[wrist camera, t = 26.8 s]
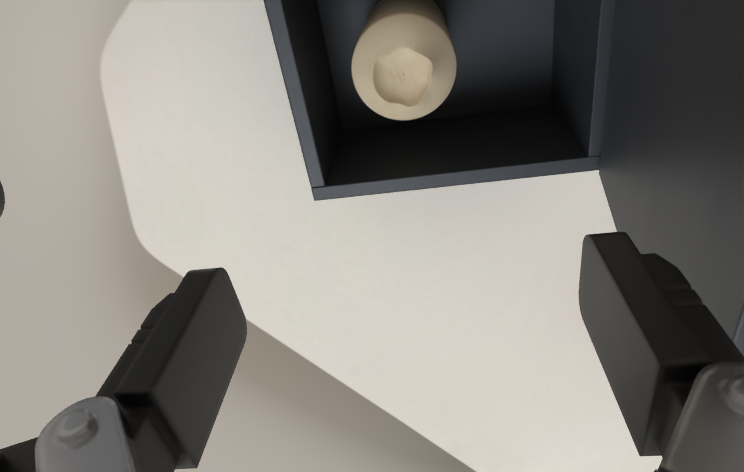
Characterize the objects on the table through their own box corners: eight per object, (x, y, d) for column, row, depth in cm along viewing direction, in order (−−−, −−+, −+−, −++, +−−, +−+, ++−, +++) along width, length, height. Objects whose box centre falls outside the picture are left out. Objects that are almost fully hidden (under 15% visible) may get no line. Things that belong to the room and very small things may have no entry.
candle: (430, -26, 31) (437, -1, 23) (457, 58, 34) (472, 108, 25) (351, 10, 32) (330, 46, 24) (382, 88, 35) (373, 144, 27)
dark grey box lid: (690, 470, 14) (922, 495, 12) (900, -174, 6) (1555, -295, 5) (598, 173, 28) (701, 169, 26) (628, -131, 20) (773, -158, 19)
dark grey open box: (335, 138, 38) (314, 201, 30) (291, -68, 31) (248, -59, 23) (560, 109, 36) (603, 169, 28) (571, -121, 29) (635, -132, 20)
